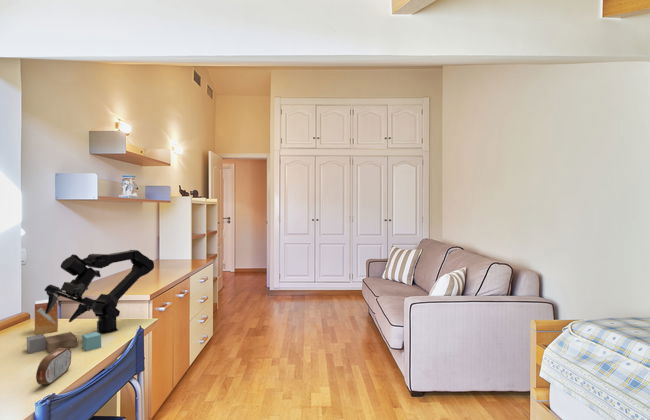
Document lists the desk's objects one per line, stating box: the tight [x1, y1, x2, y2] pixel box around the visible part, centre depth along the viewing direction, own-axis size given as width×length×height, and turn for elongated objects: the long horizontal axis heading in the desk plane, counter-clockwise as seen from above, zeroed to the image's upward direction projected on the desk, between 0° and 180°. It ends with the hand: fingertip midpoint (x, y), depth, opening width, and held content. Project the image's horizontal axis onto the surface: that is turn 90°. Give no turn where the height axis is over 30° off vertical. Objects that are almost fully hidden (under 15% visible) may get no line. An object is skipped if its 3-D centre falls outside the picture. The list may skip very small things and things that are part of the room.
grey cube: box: [26, 333, 47, 355], centre depth 148 cm, size 5×5×5 cm
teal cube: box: [81, 331, 102, 352], centre depth 151 cm, size 5×5×5 cm
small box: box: [34, 298, 59, 335], centre depth 169 cm, size 8×6×13 cm
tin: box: [35, 348, 72, 386], centre depth 126 cm, size 15×3×8 cm, turn 5°
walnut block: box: [45, 331, 78, 355], centre depth 151 cm, size 9×9×4 cm
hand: (57, 317), depth 151 cm, fingers open, 9 cm apart
